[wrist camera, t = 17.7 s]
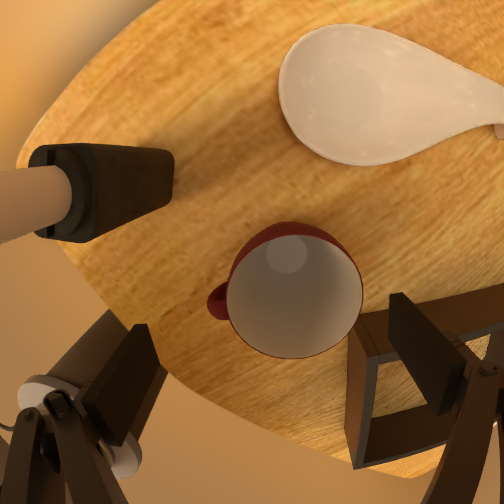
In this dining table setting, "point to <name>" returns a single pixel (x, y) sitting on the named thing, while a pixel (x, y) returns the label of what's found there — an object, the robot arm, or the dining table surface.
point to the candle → (83, 190)
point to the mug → (290, 292)
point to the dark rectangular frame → (381, 351)
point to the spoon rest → (379, 95)
